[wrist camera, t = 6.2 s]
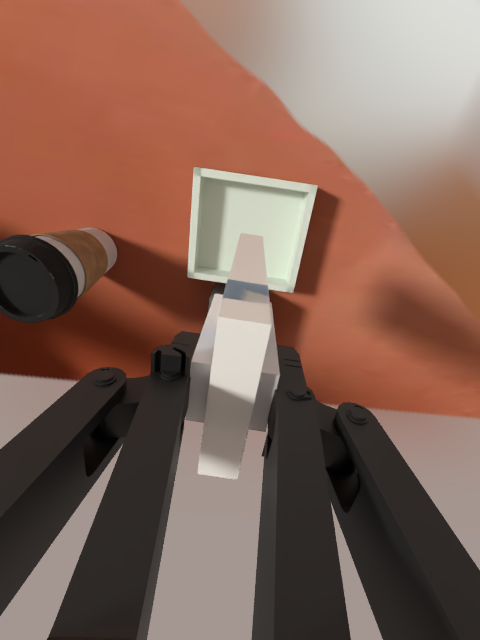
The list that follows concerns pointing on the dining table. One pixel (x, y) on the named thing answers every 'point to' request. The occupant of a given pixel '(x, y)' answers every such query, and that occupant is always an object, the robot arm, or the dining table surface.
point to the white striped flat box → (236, 360)
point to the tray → (248, 224)
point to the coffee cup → (51, 271)
